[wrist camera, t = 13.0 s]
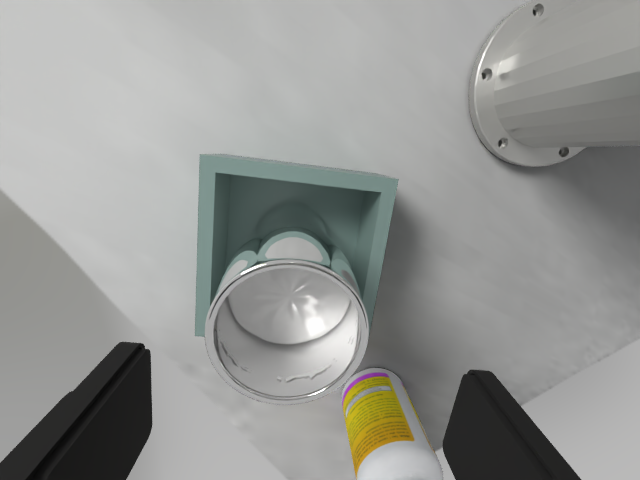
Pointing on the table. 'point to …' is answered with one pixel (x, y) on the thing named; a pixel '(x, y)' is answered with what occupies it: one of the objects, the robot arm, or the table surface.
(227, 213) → the box
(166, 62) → the table surface
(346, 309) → the beer glass
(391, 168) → the table surface
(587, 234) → the table surface
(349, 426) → the supplement bottle
